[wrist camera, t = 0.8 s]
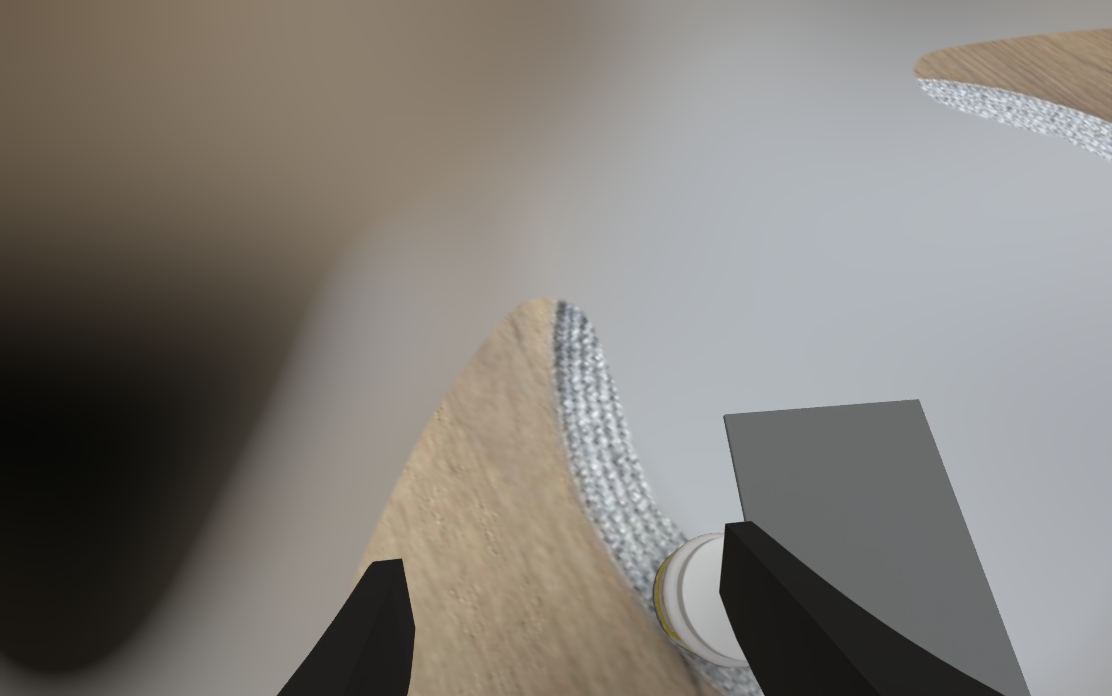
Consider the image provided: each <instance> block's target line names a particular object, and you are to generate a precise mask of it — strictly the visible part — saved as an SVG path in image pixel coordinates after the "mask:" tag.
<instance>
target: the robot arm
mask: <svg viewBox="0 0 1112 696" xmlns="http://www.w3.org/2000/svg"><path fill="white" fill-rule="evenodd" d="M719 594H720V597H721V600H722V603H723V605H724V608H725V611H726V614H727V617H728V619H729V622H730V624H731V627H732V630H733V632H734V635H735V637H736V640H737V642H738V644H739V646H740V648H741V650H742V652H743V654H744V656H745V658H746V660H747V662H748V664H749V666H750V668H751V670H752V672H753V674H754V676H755V678H756V680H757V682H758V684H759V685H760V687H761V689H762V691H763V693H764V695H765V696H1005V695H1003V694H1001V693H1000V692H998V691H996V690H994V689H992V688H990V687H989V686H987V685H985V684H983V683H981V682H980V681H978V680H976V679H974V678H972V677H970V676H969V675H967V674H965V673H963V672H962V671H960V670H958V669H956V668H955V667H953V666H951V665H950V664H948V663H946V662H944V661H943V660H941V659H939V658H938V657H936V656H935V655H933V654H931V653H930V652H928V651H927V650H925V649H923V648H922V647H920V646H919V645H917V644H915V643H914V642H912V641H911V640H909V639H907V638H906V637H904V636H903V635H901V634H900V633H898V632H897V631H895V630H894V629H892V628H891V627H889V626H888V625H886V624H885V623H883V622H882V621H880V620H879V619H878V618H876V617H875V616H873V615H872V614H870V613H869V612H868V611H866V610H865V609H863V608H862V607H860V606H859V605H858V604H856V603H855V602H853V601H852V600H851V599H849V598H848V597H847V596H845V595H844V594H843V593H841V592H840V591H839V590H837V589H836V588H835V587H833V586H832V585H831V584H829V583H828V582H827V581H826V580H824V579H823V578H822V577H820V576H819V575H818V574H817V573H815V572H814V571H813V570H812V569H810V568H809V567H808V566H806V565H805V564H804V563H803V562H801V561H800V560H799V559H798V558H797V557H795V556H794V555H793V554H792V553H790V552H789V551H788V550H787V549H785V548H784V547H783V546H782V545H781V544H779V543H778V542H777V541H776V540H774V539H773V538H772V537H771V536H770V535H768V534H767V533H766V532H765V531H763V530H762V529H761V528H760V527H759V526H757V525H756V524H755V523H753V522H752V521H746V522H737V523H728V524H725V533H724V544H723V554H722V565H721V575H720V586H719ZM414 638H415V624H414V619H413V613H412V608H411V603H410V598H409V592H408V587H407V582H406V577H405V572H404V566H403V561H402V559H393V560H384V561H375V562H373V563H372V564H371V565H370V566H369V567H368V568H367V570H366V572H365V573H364V575H363V576H362V578H361V579H360V581H359V582H358V584H357V586H356V587H355V589H354V590H353V592H352V593H351V595H350V596H349V598H348V599H347V601H346V602H345V604H344V605H343V607H342V608H341V610H340V611H339V613H338V614H337V616H336V617H335V619H334V620H333V621H332V623H331V624H330V626H329V627H328V628H327V630H326V631H325V633H324V634H323V636H322V637H321V638H320V640H319V641H318V642H317V644H316V645H315V647H314V648H313V649H312V651H311V652H310V654H309V655H308V656H307V657H306V659H305V660H304V661H303V663H302V664H301V665H300V667H299V668H298V669H297V670H296V672H295V673H294V674H293V675H292V677H291V678H290V679H289V681H288V682H287V683H286V685H285V686H284V687H283V688H282V690H281V691H280V692H279V693H278V695H277V696H407V694H408V689H409V684H410V678H411V669H412V659H413V649H414Z"/></svg>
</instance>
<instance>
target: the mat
mask: <svg viewBox="0 0 1112 696" xmlns="http://www.w3.org/2000/svg"><path fill="white" fill-rule="evenodd" d="M723 418H724V423H725V428H726V432H727V438H728V442H729V447H730V452H731V457H732V462H733V467H734V472H735V477H736V482H737V487H738V492H739V497H740V501H741V506H742V511H743V516H744V521H745V522H746V521H752V522H753V523H755V524H756V525H757V526H759V527H760V528H761V529H762V530H763V531H765V532H766V533H767V534H768V535H770V536H771V537H772V538H773V539H774V540H776V541H777V542H778V543H779V544H781V545H782V546H783V547H784V548H785V549H787V550H788V551H789V552H790V553H792V554H793V555H794V556H795V557H797V558H798V559H799V560H800V561H801V562H803V563H804V564H805V565H806V566H808V567H809V568H810V569H812V570H813V571H814V572H815V573H817V574H818V575H819V576H820V577H822V578H823V579H824V580H826V581H827V582H828V583H829V584H831V585H832V586H833V587H835V588H836V589H837V590H839V591H840V592H841V593H843V594H844V595H845V596H847V597H848V598H849V599H851V600H852V601H853V602H855V603H856V604H858V605H859V606H860V607H862V608H863V609H865V610H866V611H868V612H869V613H870V614H872V615H873V616H875V617H876V618H878V619H879V620H880V621H882V622H883V623H885V624H886V625H888V626H889V627H891V628H892V629H894V630H895V631H897V632H898V633H900V634H901V635H903V636H904V637H906V638H907V639H909V640H911V641H912V642H914V643H915V644H917V645H919V646H920V647H922V648H923V649H925V650H927V651H928V652H930V653H931V654H933V655H935V656H936V657H938V658H939V659H941V660H943V661H944V662H946V663H948V664H950V665H951V666H953V667H955V668H956V669H958V670H960V671H962V672H963V673H965V674H967V675H969V676H970V677H972V678H974V679H976V680H978V681H980V682H981V683H983V684H985V685H987V686H989V687H990V688H992V689H994V690H996V691H998V692H1000V693H1001V694H1003V695H1005V696H1031V695H1030V693H1029V690H1028V687H1027V685H1026V682H1025V680H1024V677H1023V674H1022V671H1021V669H1020V666H1019V663H1018V661H1017V658H1016V655H1015V653H1014V650H1013V648H1012V645H1011V642H1010V640H1009V637H1008V635H1007V632H1006V629H1005V626H1004V624H1003V621H1002V618H1001V616H1000V614H999V610H998V608H997V605H996V602H995V600H994V597H993V595H992V592H991V589H990V587H989V584H988V581H987V579H986V576H985V573H984V571H983V568H982V565H981V563H980V560H979V558H978V555H977V552H976V549H975V547H974V544H973V542H972V539H971V536H970V534H969V531H968V528H967V526H966V523H965V520H964V518H963V515H962V512H961V510H960V507H959V504H958V502H957V499H956V496H955V494H954V491H953V489H952V486H951V483H950V481H949V478H948V475H947V473H946V470H945V467H944V465H943V462H942V459H941V457H940V454H939V451H938V449H937V446H936V444H935V441H934V438H933V435H932V433H931V430H930V428H929V425H928V422H927V420H926V417H925V414H924V412H923V409H922V407H921V404H920V401H919V400H904V401H893V402H892V401H891V402H879V403H866V404H853V405H841V406H828V407H815V408H802V409H790V410H777V411H764V412H752V413H739V414H726V415H724V417H723Z"/></svg>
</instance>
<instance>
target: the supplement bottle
mask: <svg viewBox="0 0 1112 696" xmlns="http://www.w3.org/2000/svg"><path fill="white" fill-rule="evenodd" d="M723 544H724V533H711V534H706V535H701V536H698V537H696V538H694V539H692V540H690V541H688V542H687V543H685V544H684V545H683V546H681V547H680V548H679V549H678V550H676V551H675V552H674V553H673V554H671V555H670V556H669V557H668V558H667V559H666V560H665V561H664V562H663V564H662V565H661V567H660V568H659V570H658V572H657V575H656V577H655V580H654V586H653V604H654V609H655V612H656V615H657V618H658V620H659V622H660V624H661V626H662V628H663V629H664V630H665V632H666V633H667V634H668V636H669V637H670V638H671V639H672V640H673V641H675V642H676V643H677V644H678V645H680V646H681V647H683V648H684V649H686V650H688V651H690V652H692V653H694V654H696V655H698V656H699V657H701V658H703V659H705V660H706V661H708V662H711V663H713V664H716V665H719V666H722V667H727V668H743V667H749V664H748V662H747V660H746V658H745V656H744V654H743V652H742V650H741V648H740V646H739V644H738V642H737V640H736V637H735V635H734V632H733V630H732V627H731V624H730V622H729V619H728V617H727V614H726V611H725V608H724V605H723V603H722V600H721V597H720V594H719V586H720V575H721V565H722V554H723Z"/></svg>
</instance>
